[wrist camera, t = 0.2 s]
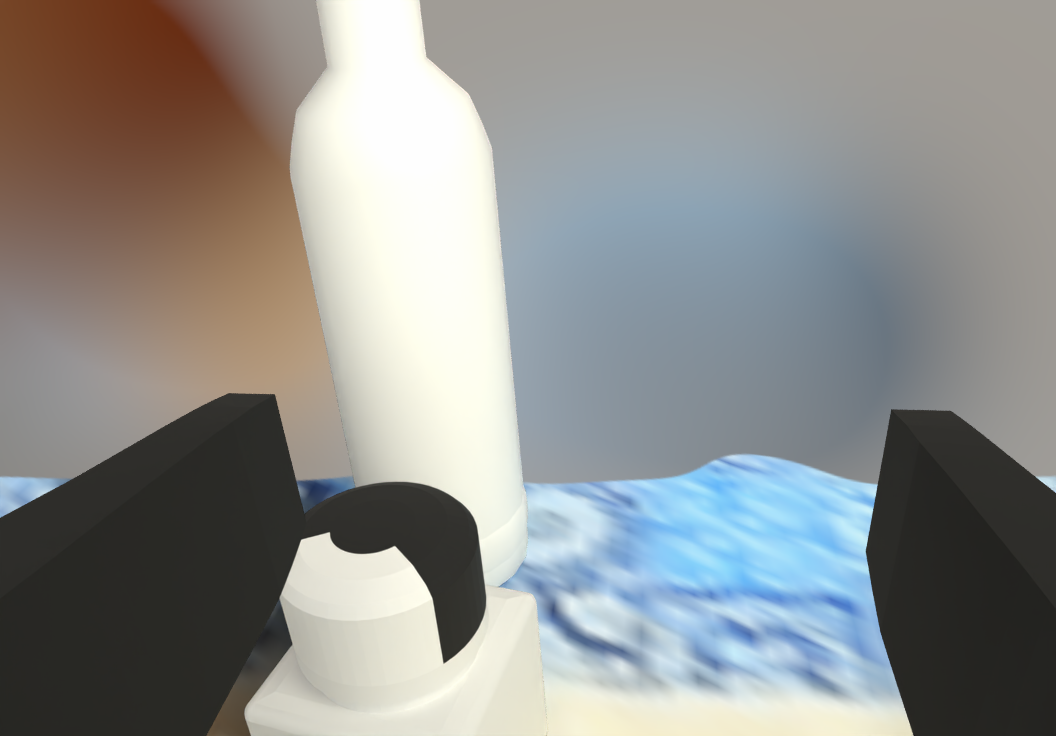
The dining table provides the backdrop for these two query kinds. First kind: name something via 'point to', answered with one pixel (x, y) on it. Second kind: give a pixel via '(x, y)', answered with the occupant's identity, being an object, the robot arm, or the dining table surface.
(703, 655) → the dining table surface
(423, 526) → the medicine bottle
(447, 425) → the bottle
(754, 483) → the dining table surface
